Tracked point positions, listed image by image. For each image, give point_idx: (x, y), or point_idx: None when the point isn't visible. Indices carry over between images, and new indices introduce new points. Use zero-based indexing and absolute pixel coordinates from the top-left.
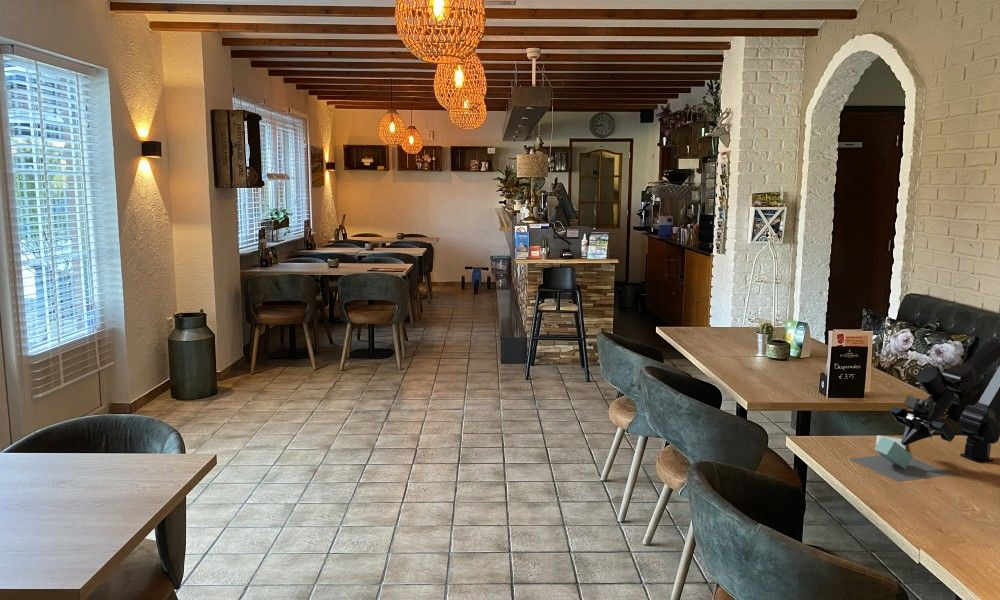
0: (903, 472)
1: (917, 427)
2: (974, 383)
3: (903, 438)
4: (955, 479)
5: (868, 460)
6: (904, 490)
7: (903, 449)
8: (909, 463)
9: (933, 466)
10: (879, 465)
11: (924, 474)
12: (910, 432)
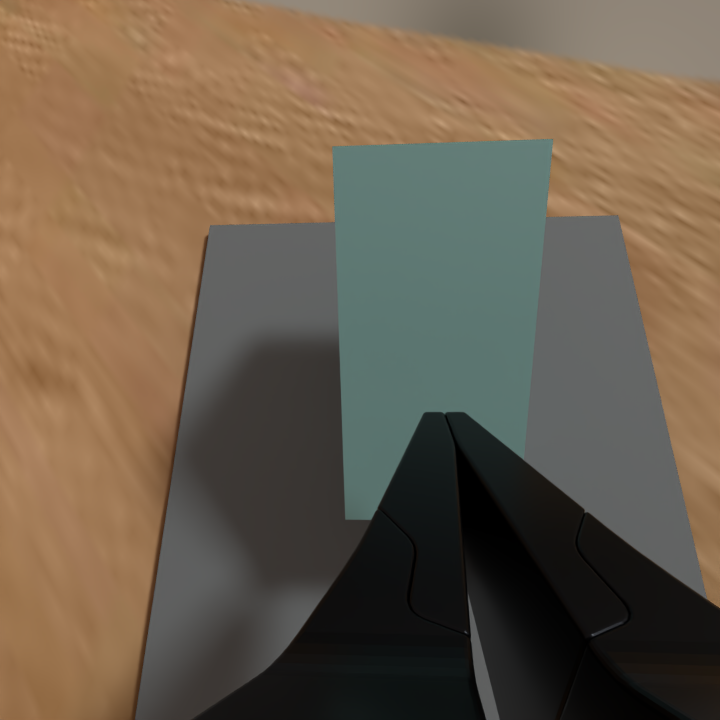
0: (310, 376)
1: (299, 698)
2: None
3: (478, 439)
4: (73, 707)
5: (575, 321)
6: (128, 191)
7: (341, 350)
8: None
9: None
10: None
11: (225, 500)
12: (445, 534)
